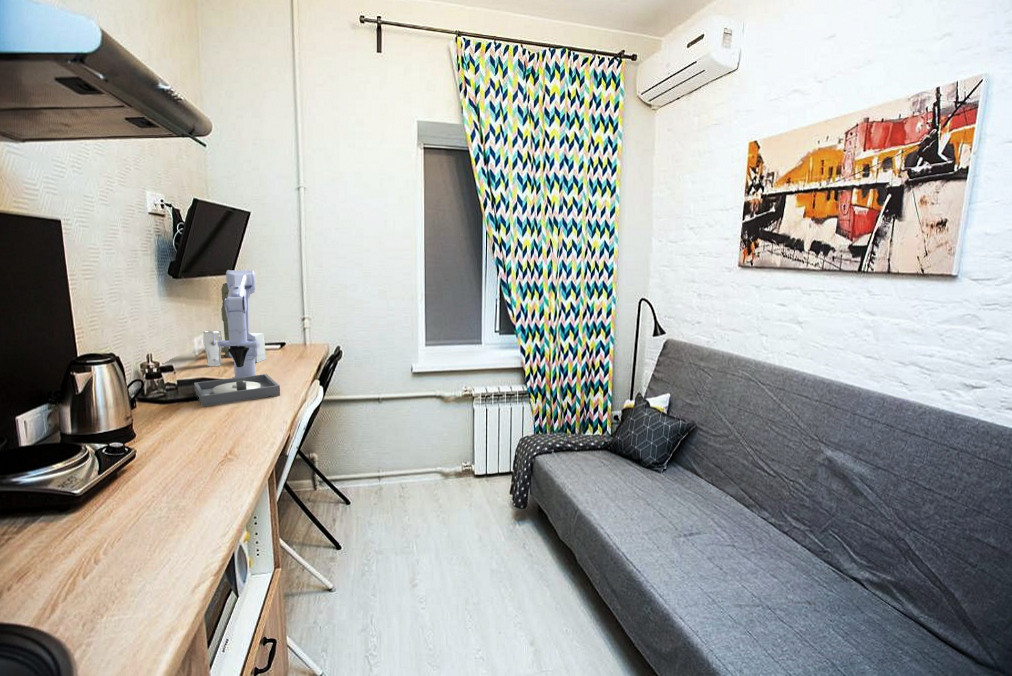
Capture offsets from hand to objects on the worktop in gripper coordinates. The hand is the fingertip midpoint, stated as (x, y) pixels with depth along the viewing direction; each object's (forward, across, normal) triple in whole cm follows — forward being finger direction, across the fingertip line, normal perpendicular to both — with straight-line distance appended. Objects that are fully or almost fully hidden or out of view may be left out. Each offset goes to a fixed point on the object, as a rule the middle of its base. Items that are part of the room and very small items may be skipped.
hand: (240, 366), depth 176 cm
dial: (+8, 0, -3) cm, 9 cm away
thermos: (+10, -38, +57) cm, 69 cm away
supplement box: (+10, -23, +47) cm, 53 cm away
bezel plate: (+9, 0, -3) cm, 10 cm away
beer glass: (+10, -35, +37) cm, 51 cm away
